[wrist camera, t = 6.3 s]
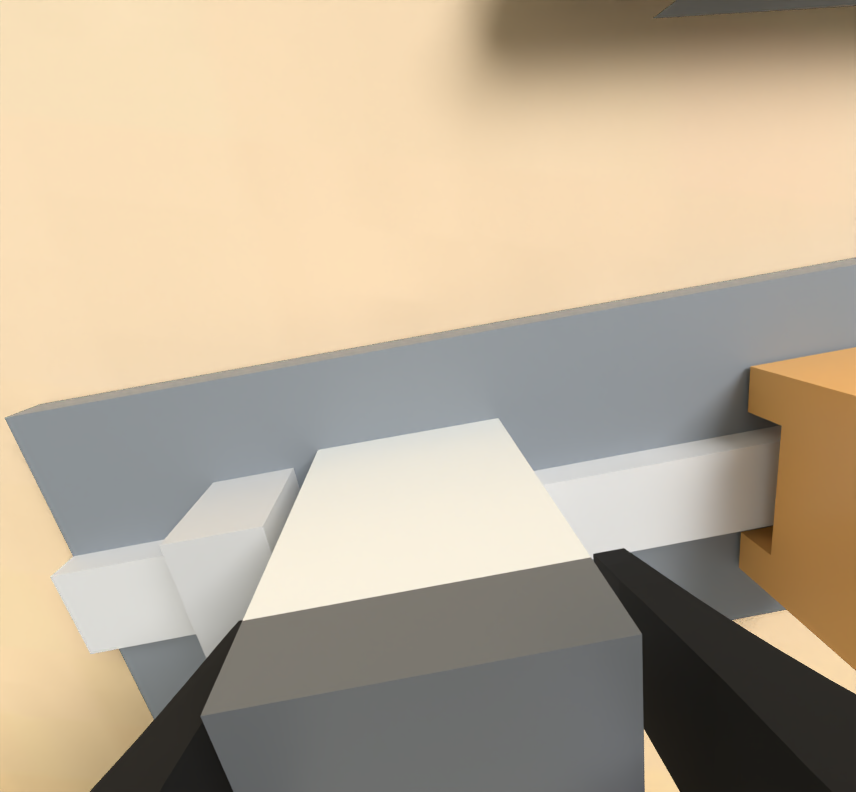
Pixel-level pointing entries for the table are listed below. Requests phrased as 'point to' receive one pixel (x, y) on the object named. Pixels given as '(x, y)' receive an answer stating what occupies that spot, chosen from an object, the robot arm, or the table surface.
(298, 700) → the block
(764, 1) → the graphics card
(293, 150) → the table surface
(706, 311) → the backplate
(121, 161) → the table surface
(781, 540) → the block
